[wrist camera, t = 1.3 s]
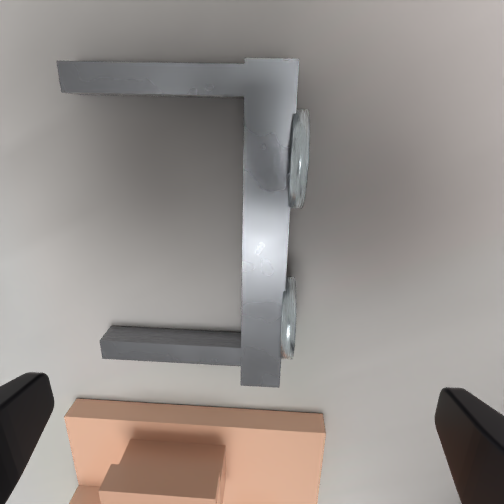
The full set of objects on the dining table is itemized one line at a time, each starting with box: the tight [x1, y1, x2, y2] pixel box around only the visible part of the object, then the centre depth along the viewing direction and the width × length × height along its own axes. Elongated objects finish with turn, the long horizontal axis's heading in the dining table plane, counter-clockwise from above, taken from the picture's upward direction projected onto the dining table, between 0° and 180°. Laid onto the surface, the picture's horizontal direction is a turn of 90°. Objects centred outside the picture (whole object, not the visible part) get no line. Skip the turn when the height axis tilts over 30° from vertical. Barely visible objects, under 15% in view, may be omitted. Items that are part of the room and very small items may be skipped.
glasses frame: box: [57, 58, 310, 388], centre depth 17 cm, size 10×15×4 cm
